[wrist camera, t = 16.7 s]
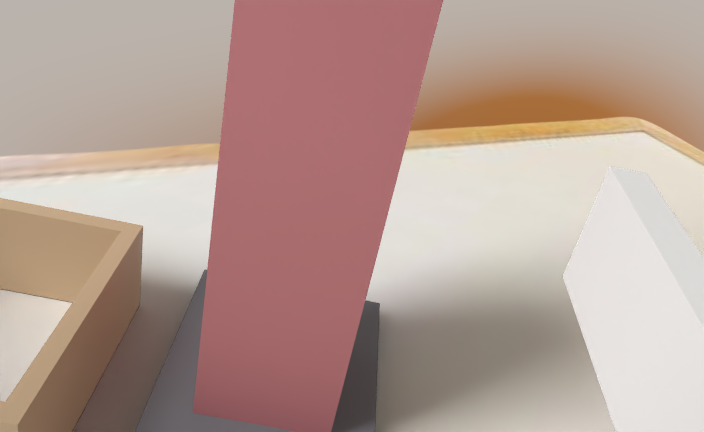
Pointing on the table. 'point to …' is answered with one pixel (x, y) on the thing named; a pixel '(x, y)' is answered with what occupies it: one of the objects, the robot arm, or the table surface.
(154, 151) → the table surface
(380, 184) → the pink rectangular block
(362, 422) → the rubber mat
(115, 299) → the hollow rectangular frame
